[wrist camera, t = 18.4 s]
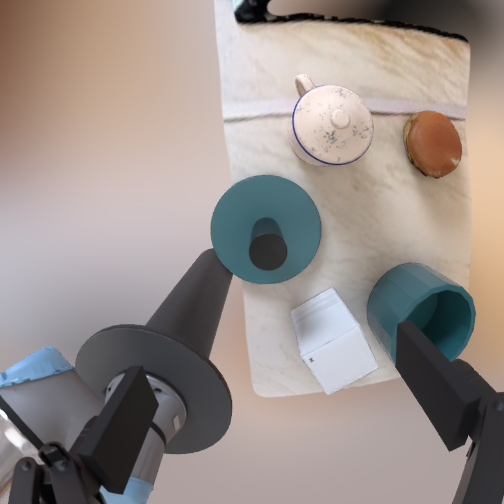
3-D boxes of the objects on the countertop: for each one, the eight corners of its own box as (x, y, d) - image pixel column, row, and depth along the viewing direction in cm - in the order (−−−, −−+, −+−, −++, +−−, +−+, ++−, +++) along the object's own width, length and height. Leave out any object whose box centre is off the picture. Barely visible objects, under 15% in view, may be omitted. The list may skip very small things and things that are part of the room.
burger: (409, 102, 36) (424, 95, 32) (455, 132, 37) (472, 129, 32) (391, 160, 38) (405, 159, 34) (439, 187, 39) (456, 189, 34)
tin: (367, 350, 45) (388, 388, 35) (364, 271, 42) (392, 297, 32) (437, 331, 44) (468, 361, 34) (440, 255, 41) (479, 275, 31)
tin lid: (223, 288, 43) (208, 332, 30) (202, 186, 40) (176, 189, 27) (325, 272, 42) (350, 309, 29) (310, 167, 39) (333, 161, 26)
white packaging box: (311, 346, 45) (325, 398, 33) (289, 309, 44) (298, 356, 31) (353, 323, 44) (380, 369, 32) (333, 284, 43) (359, 323, 30)
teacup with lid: (362, 152, 38) (397, 144, 27) (304, 179, 39) (321, 178, 28) (323, 76, 36) (343, 43, 25) (264, 100, 37) (265, 71, 26)
